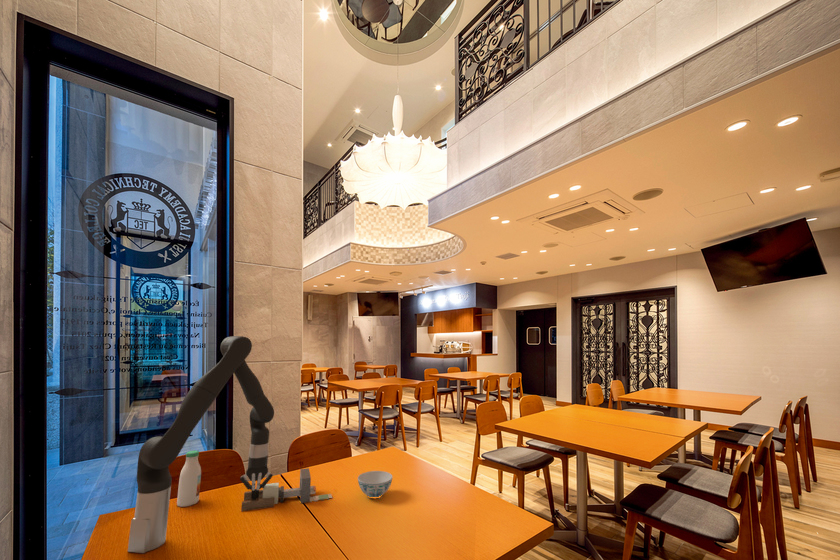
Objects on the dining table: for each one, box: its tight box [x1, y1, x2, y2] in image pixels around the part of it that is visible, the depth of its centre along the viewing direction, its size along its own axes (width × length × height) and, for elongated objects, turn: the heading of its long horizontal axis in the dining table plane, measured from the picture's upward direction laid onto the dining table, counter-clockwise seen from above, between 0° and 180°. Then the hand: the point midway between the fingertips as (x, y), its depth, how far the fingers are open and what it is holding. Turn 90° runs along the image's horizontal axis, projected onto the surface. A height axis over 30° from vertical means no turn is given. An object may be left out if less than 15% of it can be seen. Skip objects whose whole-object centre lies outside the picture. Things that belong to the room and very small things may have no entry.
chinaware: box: [357, 470, 393, 497], centre depth 159 cm, size 15×15×8 cm
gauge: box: [240, 467, 333, 512], centre depth 156 cm, size 35×13×9 cm, turn 110°
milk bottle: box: [176, 449, 202, 508], centre depth 153 cm, size 8×8×20 cm
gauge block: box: [262, 482, 281, 505], centre depth 154 cm, size 7×6×6 cm
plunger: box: [279, 485, 317, 503], centre depth 156 cm, size 14×8×4 cm, turn 110°
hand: (254, 499), depth 151 cm, fingers closed
